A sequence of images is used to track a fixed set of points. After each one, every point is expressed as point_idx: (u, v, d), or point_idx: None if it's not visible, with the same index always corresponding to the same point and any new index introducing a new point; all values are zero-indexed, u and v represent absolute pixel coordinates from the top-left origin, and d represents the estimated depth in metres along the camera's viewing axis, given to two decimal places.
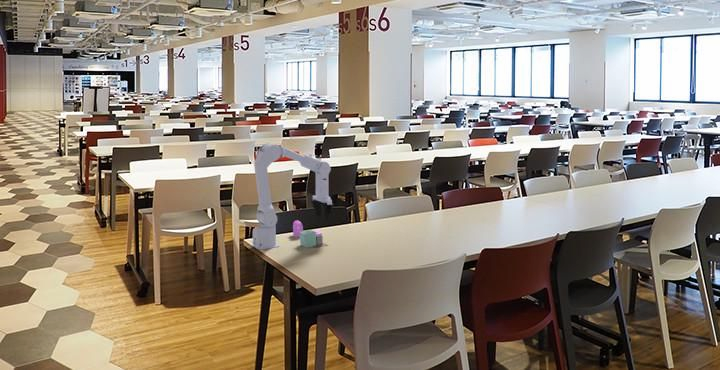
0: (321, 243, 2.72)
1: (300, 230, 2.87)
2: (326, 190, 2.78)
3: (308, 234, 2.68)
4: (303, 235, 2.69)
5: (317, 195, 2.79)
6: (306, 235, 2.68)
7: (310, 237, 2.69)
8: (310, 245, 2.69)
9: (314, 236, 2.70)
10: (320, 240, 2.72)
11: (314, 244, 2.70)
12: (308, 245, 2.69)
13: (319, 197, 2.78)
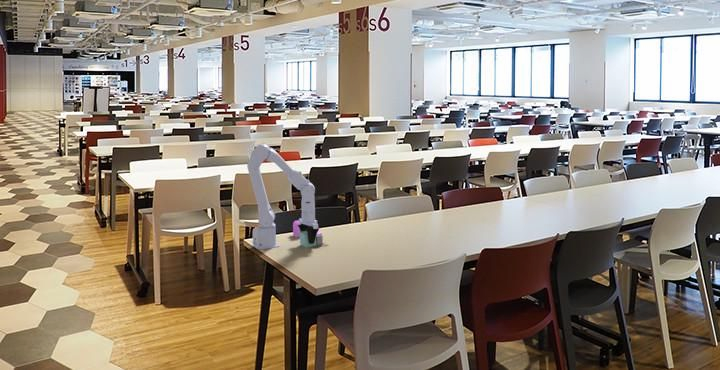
0: (321, 243, 2.72)
1: None
2: (312, 213, 2.68)
3: None
4: (303, 235, 2.69)
5: (303, 219, 2.68)
6: (306, 235, 2.68)
7: None
8: (310, 245, 2.70)
9: None
10: (320, 240, 2.72)
11: (314, 244, 2.70)
12: (308, 245, 2.69)
13: (305, 221, 2.68)
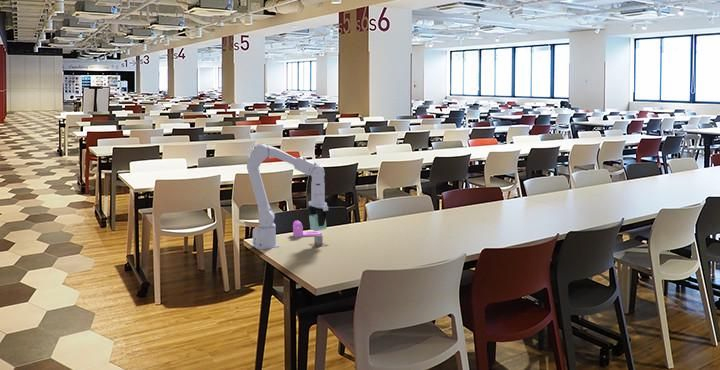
0: (321, 243, 2.72)
1: (300, 230, 2.87)
2: (322, 196, 2.68)
3: None
4: (313, 218, 2.68)
5: (313, 201, 2.68)
6: (316, 218, 2.68)
7: None
8: (320, 228, 2.69)
9: None
10: (320, 240, 2.72)
11: (324, 227, 2.70)
12: (318, 228, 2.69)
13: (315, 203, 2.67)
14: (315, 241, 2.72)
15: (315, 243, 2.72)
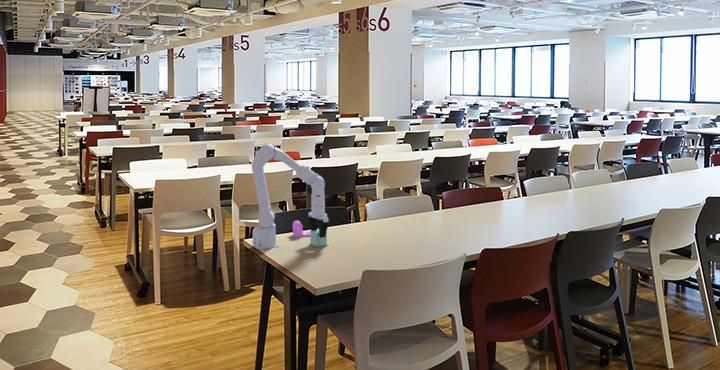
0: None
1: (300, 230, 2.87)
2: (322, 207, 2.68)
3: None
4: (314, 234, 2.70)
5: (313, 212, 2.69)
6: (317, 234, 2.69)
7: None
8: (320, 244, 2.70)
9: (325, 236, 2.71)
10: None
11: (324, 244, 2.71)
12: (318, 244, 2.70)
13: (315, 214, 2.68)
14: None
15: None
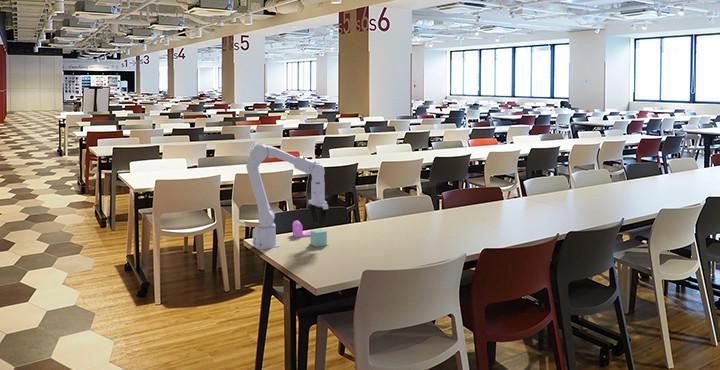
0: None
1: (300, 230, 2.87)
2: (322, 194, 2.68)
3: (319, 233, 2.69)
4: (314, 234, 2.70)
5: (313, 199, 2.68)
6: (317, 234, 2.69)
7: (321, 236, 2.70)
8: (320, 244, 2.70)
9: (325, 236, 2.71)
10: None
11: (324, 244, 2.71)
12: (318, 244, 2.70)
13: (315, 201, 2.67)
14: None
15: None
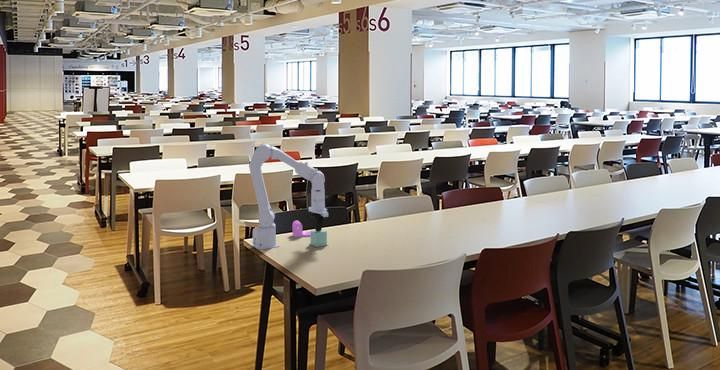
0: None
1: (300, 230, 2.87)
2: (322, 202, 2.68)
3: (319, 233, 2.69)
4: (314, 234, 2.70)
5: (313, 207, 2.68)
6: (317, 234, 2.69)
7: (321, 236, 2.70)
8: (320, 244, 2.70)
9: (325, 236, 2.71)
10: None
11: (324, 244, 2.71)
12: (318, 244, 2.70)
13: (315, 209, 2.68)
14: None
15: None
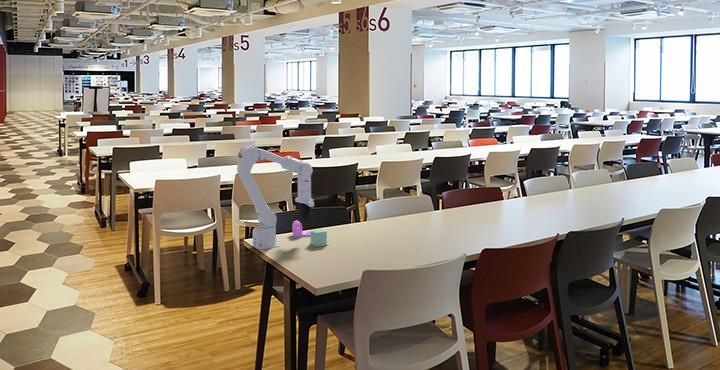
0: None
1: (299, 230, 2.87)
2: (308, 192, 2.73)
3: (319, 233, 2.69)
4: (314, 234, 2.70)
5: (299, 197, 2.73)
6: (317, 234, 2.69)
7: (321, 236, 2.70)
8: (320, 244, 2.70)
9: (325, 236, 2.71)
10: None
11: (324, 244, 2.71)
12: (318, 244, 2.70)
13: (301, 199, 2.73)
14: None
15: None
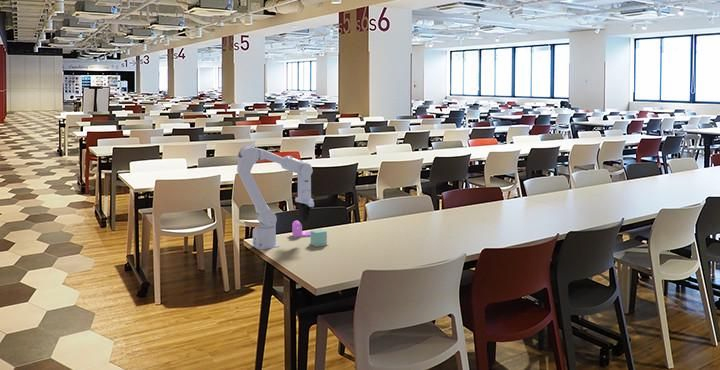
0: None
1: (299, 230, 2.87)
2: (308, 192, 2.73)
3: (319, 233, 2.69)
4: (314, 234, 2.70)
5: (299, 197, 2.73)
6: (317, 234, 2.69)
7: (321, 236, 2.70)
8: (320, 244, 2.70)
9: (325, 236, 2.71)
10: None
11: (324, 244, 2.71)
12: (318, 244, 2.70)
13: (301, 199, 2.73)
14: None
15: None
